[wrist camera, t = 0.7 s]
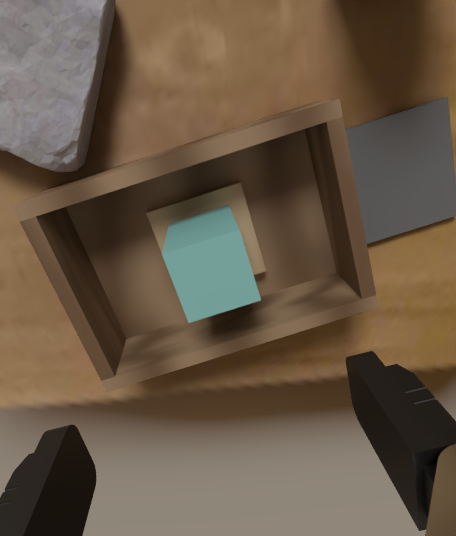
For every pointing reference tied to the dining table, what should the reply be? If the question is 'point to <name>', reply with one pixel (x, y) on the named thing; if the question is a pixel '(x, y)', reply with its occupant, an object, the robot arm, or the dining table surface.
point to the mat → (404, 170)
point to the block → (209, 264)
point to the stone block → (51, 77)
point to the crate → (194, 203)
